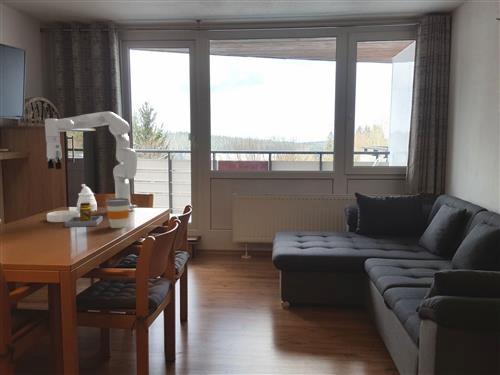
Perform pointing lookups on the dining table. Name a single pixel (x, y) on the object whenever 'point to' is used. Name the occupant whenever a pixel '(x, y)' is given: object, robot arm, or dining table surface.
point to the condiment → (85, 212)
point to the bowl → (61, 216)
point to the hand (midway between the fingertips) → (54, 168)
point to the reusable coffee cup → (118, 212)
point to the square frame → (94, 222)
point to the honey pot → (86, 198)
